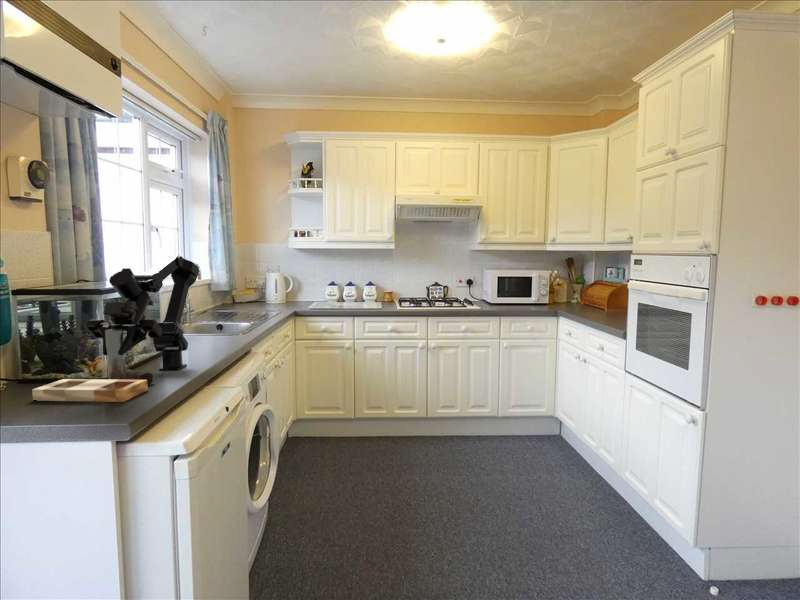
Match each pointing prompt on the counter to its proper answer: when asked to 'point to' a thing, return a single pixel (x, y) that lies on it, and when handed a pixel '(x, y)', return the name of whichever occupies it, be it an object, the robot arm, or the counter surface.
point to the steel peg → (115, 353)
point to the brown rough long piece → (138, 375)
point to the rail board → (90, 390)
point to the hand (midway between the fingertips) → (112, 354)
